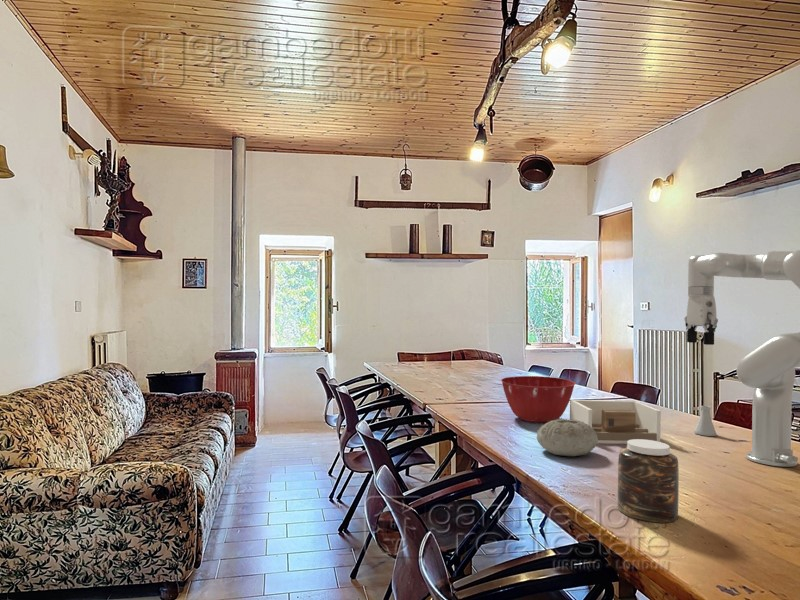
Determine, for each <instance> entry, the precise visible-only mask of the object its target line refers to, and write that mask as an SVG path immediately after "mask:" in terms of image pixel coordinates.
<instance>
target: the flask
mask: <svg viewBox="0 0 800 600" xmlns="http://www.w3.org/2000/svg"><path fill="white" fill-rule="evenodd" d="M700 408H701V411H700V416H699V419H698V421H697V424H696V426H695V428H694V430H693V432H694V434H696V435H698V436H705V437H706V436H707V437H717V436H718V435H717V434H718V433H717V432H716V431H717V430H716V429H715V426H714V423H713V421H712V417H711V408H712V407H711V406H710V405H700Z"/></svg>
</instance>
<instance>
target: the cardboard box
mask: <svg viewBox="0 0 800 600" xmlns="http://www.w3.org/2000/svg"><path fill="white" fill-rule="evenodd" d="M635 423H636V412H634V411H631V410H602V424H601V432H635Z"/></svg>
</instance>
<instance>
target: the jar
mask: <svg viewBox="0 0 800 600" xmlns="http://www.w3.org/2000/svg"><path fill="white" fill-rule="evenodd" d="M617 466H618V467H617V509H618V510H619V511H620V513H622V514H623V515H625V516H628V517H629V518H632V519H634V520H635V519H636V520H638V521H639V520H640V521H644V522H648V523H649V522H650V523H656V524H667V523H668V524H669V523H674V522H675V521H677V520H679V498H680V497H679V496H680V495H679V491H680V490H679V485H680V484H679V479H680V478H679V477H680V476H679V473H680V472H679V471H680V470H679V467H680V466H679V459H678V457H677V456H676V455H675V454H674V453H671V446H670V445H669V444H667V443H664V442H661V441H660V442H658V441H653V440H644V439H632V440H628V441H627V444H626V447H624V448H621V449H620V450H619V452H618V463H617Z"/></svg>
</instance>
